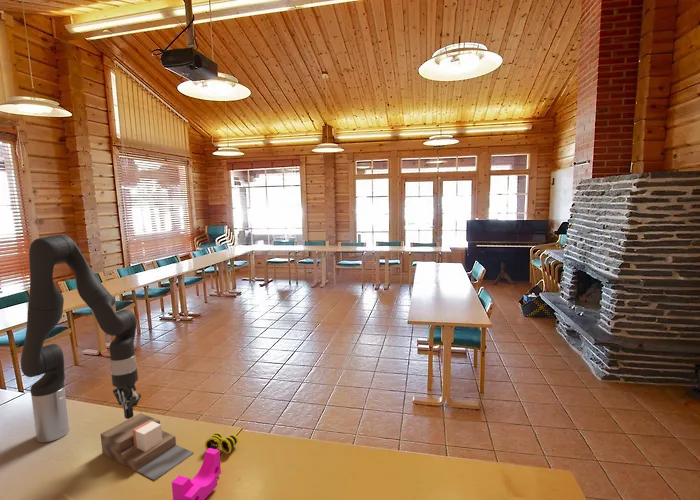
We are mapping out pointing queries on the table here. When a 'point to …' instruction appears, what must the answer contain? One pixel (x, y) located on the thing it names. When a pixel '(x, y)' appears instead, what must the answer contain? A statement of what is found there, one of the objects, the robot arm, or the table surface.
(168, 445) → the stair block
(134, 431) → the cube
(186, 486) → the magenta clamp bracket
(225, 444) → the opera glasses
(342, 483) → the table surface
